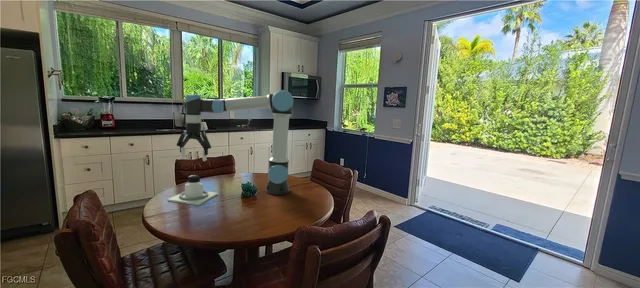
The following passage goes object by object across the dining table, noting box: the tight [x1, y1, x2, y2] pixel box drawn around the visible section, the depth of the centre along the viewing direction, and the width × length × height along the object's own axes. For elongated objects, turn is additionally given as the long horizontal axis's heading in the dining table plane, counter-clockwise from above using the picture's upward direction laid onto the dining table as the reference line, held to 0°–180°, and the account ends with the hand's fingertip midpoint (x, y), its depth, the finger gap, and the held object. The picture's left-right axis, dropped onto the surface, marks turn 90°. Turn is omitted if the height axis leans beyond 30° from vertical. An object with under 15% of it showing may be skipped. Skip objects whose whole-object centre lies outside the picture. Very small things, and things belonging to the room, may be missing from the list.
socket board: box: [167, 189, 219, 206], centre depth 157 cm, size 19×19×2 cm
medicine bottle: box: [184, 174, 204, 198], centre depth 156 cm, size 7×7×12 cm
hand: (193, 159), depth 154 cm, fingers open, 13 cm apart
